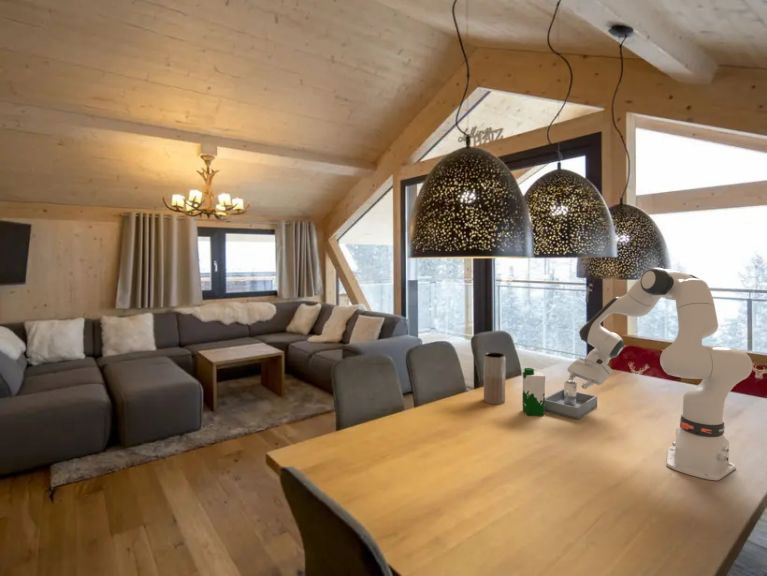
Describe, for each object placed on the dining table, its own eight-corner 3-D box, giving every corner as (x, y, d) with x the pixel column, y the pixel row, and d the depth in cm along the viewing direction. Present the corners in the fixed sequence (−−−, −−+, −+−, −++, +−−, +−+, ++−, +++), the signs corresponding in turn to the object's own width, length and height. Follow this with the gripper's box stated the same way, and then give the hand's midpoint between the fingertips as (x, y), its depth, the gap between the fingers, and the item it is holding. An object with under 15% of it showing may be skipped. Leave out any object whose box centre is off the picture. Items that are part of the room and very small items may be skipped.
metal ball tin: (573, 409, 194) (573, 382, 193) (561, 406, 197) (562, 380, 196) (578, 406, 197) (578, 380, 196) (566, 403, 201) (567, 378, 200)
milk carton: (520, 409, 196) (520, 366, 195) (540, 409, 196) (540, 366, 195) (526, 416, 188) (526, 371, 186) (547, 416, 188) (547, 371, 186)
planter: (486, 396, 215) (486, 351, 214) (506, 399, 211) (507, 353, 209) (481, 402, 206) (481, 355, 205) (502, 405, 202) (503, 357, 200)
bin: (577, 419, 184) (577, 408, 184) (541, 410, 195) (541, 399, 195) (597, 406, 199) (597, 396, 199) (562, 398, 211) (562, 388, 210)
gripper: (575, 353, 208) (557, 374, 206) (607, 363, 188) (587, 386, 187) (583, 361, 210) (565, 383, 208) (615, 372, 190) (596, 396, 188)
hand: (576, 385), depth 197 cm, fingers open, 8 cm apart
